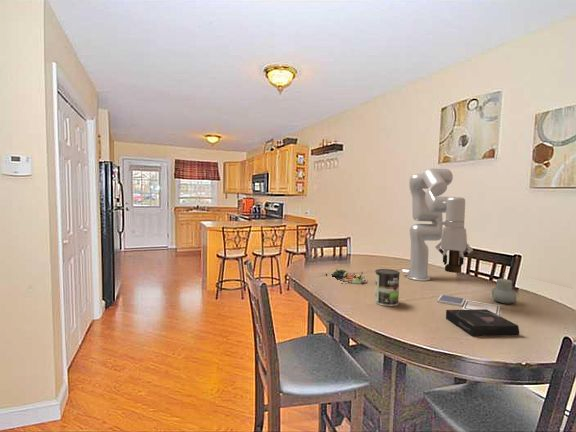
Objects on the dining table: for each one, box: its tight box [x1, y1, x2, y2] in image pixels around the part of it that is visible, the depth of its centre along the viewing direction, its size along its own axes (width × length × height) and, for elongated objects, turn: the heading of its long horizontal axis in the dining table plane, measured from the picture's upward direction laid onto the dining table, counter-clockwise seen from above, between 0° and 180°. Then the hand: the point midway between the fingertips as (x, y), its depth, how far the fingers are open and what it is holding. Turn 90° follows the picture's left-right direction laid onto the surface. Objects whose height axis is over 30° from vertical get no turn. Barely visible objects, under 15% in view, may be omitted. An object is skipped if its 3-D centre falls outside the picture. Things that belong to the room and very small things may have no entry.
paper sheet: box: [461, 299, 501, 316], centre depth 144 cm, size 13×15×1 cm
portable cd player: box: [445, 309, 520, 337], centre depth 124 cm, size 16×17×4 cm
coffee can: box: [374, 268, 401, 307], centre depth 150 cm, size 10×10×14 cm
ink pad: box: [436, 294, 466, 308], centre depth 153 cm, size 10×10×1 cm
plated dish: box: [331, 268, 368, 285], centre depth 191 cm, size 35×28×7 cm
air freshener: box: [491, 278, 518, 305], centre depth 153 cm, size 11×8×10 cm
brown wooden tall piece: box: [444, 250, 462, 274], centre depth 151 cm, size 7×6×18 cm
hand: (453, 264), depth 152 cm, fingers closed on brown wooden tall piece, 5 cm apart
